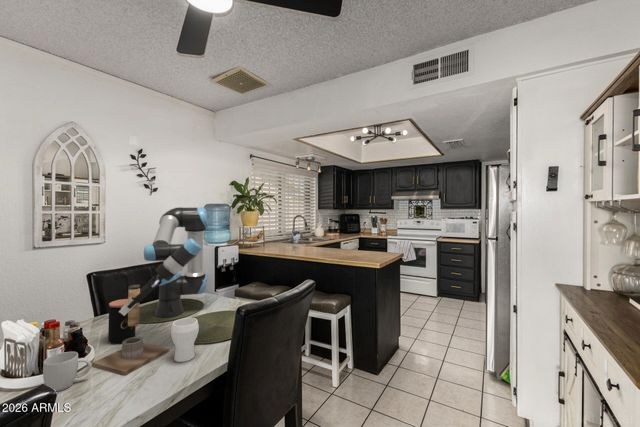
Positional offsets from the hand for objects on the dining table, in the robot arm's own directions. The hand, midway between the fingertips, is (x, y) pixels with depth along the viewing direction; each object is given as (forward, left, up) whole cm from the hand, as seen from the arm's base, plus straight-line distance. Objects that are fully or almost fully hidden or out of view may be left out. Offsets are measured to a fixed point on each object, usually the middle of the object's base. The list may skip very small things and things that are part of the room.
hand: (122, 311), depth 117 cm
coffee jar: (-14, -18, -20) cm, 31 cm away
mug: (+18, -1, -20) cm, 27 cm away
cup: (-11, +22, -20) cm, 32 cm away
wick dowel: (-3, +3, -6) cm, 7 cm away
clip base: (-3, +3, -20) cm, 20 cm away
